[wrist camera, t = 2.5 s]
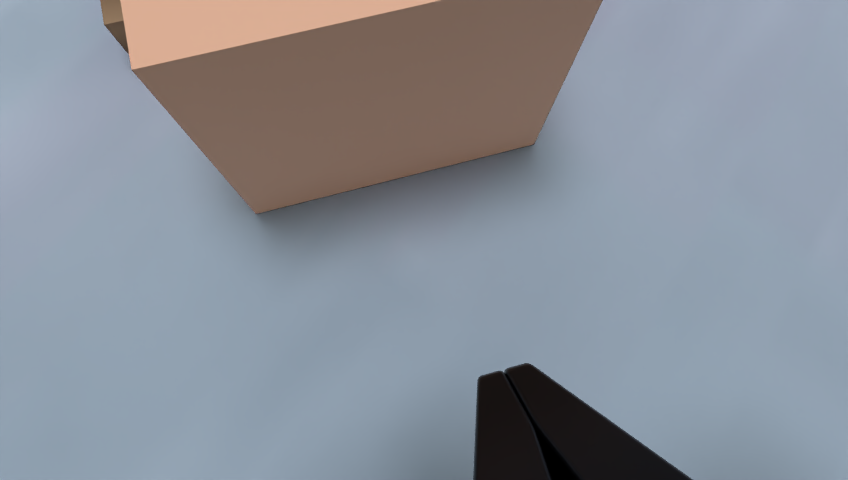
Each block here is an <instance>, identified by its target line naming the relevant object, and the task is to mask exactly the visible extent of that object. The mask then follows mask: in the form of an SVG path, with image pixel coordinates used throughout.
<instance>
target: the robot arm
mask: <svg viewBox="0 0 848 480" xmlns="http://www.w3.org/2000/svg"><path fill="white" fill-rule="evenodd" d="M473 480H692V479H691V478H690V477H688V476H687V475H685V474H684V473H683V472H681V471H680V470H678V469H677V468H676V467H674V466H673V465H671V464H670V463H669V462H667V461H666V460H664V459H663V458H662V457H660V456H659V455H657V454H656V453H655V452H653V451H652V450H650V449H649V448H648V447H646V446H645V445H643V444H642V443H641V442H639V441H638V440H636V439H635V438H634V437H632V436H631V435H629V434H628V433H627V432H625V431H624V430H622V429H621V428H620V427H618V426H617V425H615V424H614V423H613V422H611V421H610V420H608V419H607V418H606V417H604V416H603V415H601V414H600V413H599V412H597V411H596V410H595V409H593V408H592V407H590V406H589V405H588V404H586V403H585V402H583V401H582V400H581V399H579V398H578V397H576V396H575V395H574V394H572V393H571V392H569V391H568V390H567V389H565V388H564V387H562V386H561V385H560V384H558V383H557V382H555V381H554V380H553V379H551V378H550V377H548V376H547V375H546V374H544V373H543V372H541V371H540V370H539V369H537V368H536V367H534V366H533V365H531V364H529V363H524V364H521V365H517V366H514V367H510V368H507V369H506V370H505V371H504V373H503V372H502V371H496V372H493V373H489V374H485V375H482V376H480V377H479V378H478V382H477V405H476V429H475V452H474V476H473Z"/></svg>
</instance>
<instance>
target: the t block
mask: <svg viewBox="0 0 848 480" xmlns="http://www.w3.org/2000/svg"><path fill="white" fill-rule="evenodd" d="M120 1H121V7H122V14H123V20H124V26H125V32H126V38H127V44H128V51H129V57H130V63H131V69H132V71H133V72H134V73H135V74H136V75H137V77H138V78H139V79H140V80H141V81H142V82H143V84H144V85H145V86H146V87H147V88H148V89H149V91H150V92H151V93H152V94H153V95H154V96H155V97H156V99H157V100H158V101H159V102H160V103H161V104H162V106H163V107H164V108H165V109H166V110H167V111H168V113H169V114H170V115H171V116H172V117H173V118H174V120H175V121H176V122H177V123H178V124H179V125H180V126H181V128H182V129H183V130H184V131H185V132H186V133H187V135H188V136H189V137H190V138H191V139H192V140H193V142H194V143H195V144H196V145H197V146H198V147H199V148H200V150H201V151H202V152H203V153H204V154H205V155H206V157H207V158H208V159H209V160H210V161H211V162H212V164H213V165H214V166H215V167H216V168H217V169H218V171H219V172H220V173H221V174H222V175H223V176H224V177H225V179H226V180H227V181H228V182H229V183H230V184H231V186H232V187H233V188H234V189H235V190H236V191H237V193H238V194H239V195H240V196H241V197H242V198H243V199H244V201H245V202H246V203H247V204H248V205H249V206H250V208H251V209H252V210H253V211H254V212H255V213H256V214H258V213H262V212H266V211H270V210H274V209H278V208H282V207H286V206H290V205H294V204H298V203H302V202H306V201H310V200H314V199H318V198H322V197H326V196H330V195H334V194H338V193H342V192H346V191H350V190H354V189H358V188H362V187H366V186H370V185H374V184H378V183H382V182H386V181H390V180H394V179H398V178H402V177H406V176H410V175H414V174H418V173H422V172H426V171H430V170H434V169H438V168H442V167H446V166H450V165H454V164H458V163H462V162H466V161H470V160H474V159H478V158H482V157H486V156H490V155H494V154H498V153H502V152H506V151H510V150H514V149H518V148H521V147H525V146H529V145H533V144H534V143H535V141H536V139H537V137H538V135H539V133H540V131H541V129H542V127H543V124H544V122H545V120H546V118H547V116H548V114H549V112H550V110H551V108H552V106H553V103H554V101H555V99H556V97H557V95H558V93H559V91H560V89H561V87H562V85H563V82H564V80H565V78H566V76H567V74H568V72H569V70H570V68H571V66H572V64H573V61H574V59H575V57H576V55H577V53H578V51H579V49H580V47H581V45H582V43H583V40H584V38H585V36H586V34H587V32H588V30H589V28H590V26H591V24H592V22H593V19H594V17H595V15H596V13H597V11H598V9H599V7H600V5H601V3H602V1H603V0H120Z"/></svg>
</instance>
